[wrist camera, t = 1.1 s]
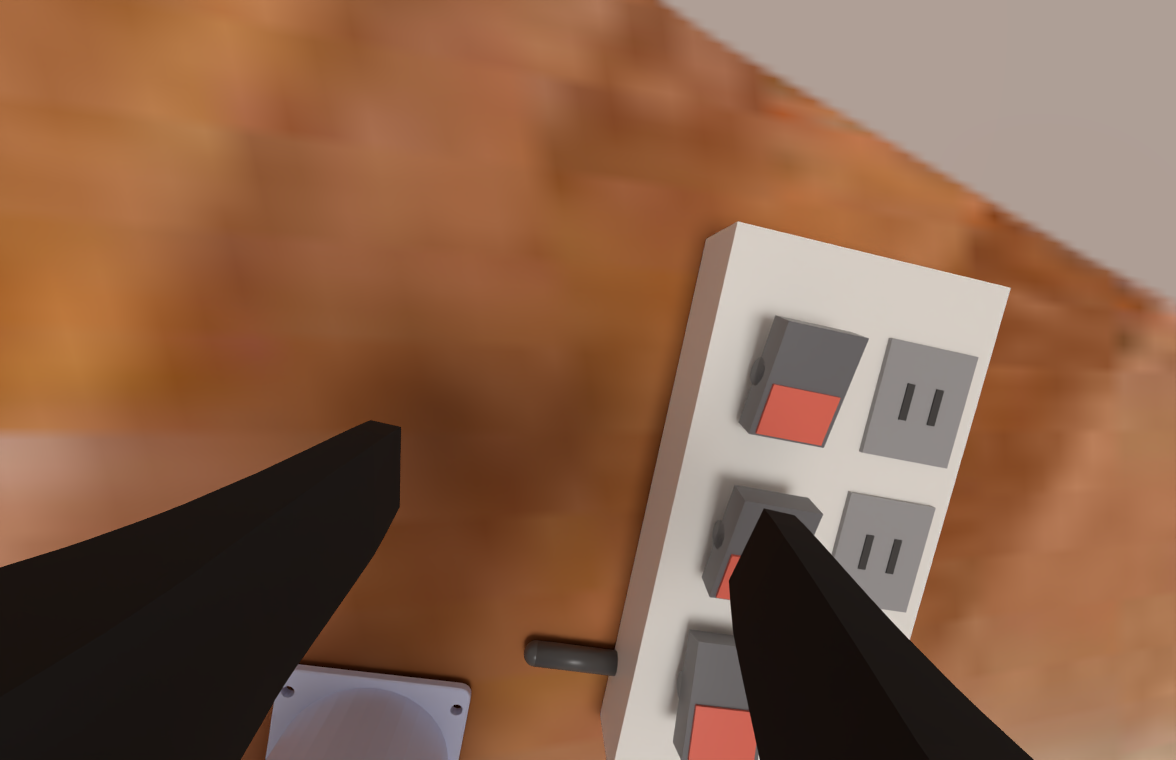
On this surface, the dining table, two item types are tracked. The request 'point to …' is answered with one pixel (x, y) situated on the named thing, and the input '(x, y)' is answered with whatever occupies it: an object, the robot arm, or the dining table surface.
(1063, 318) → the dining table surface
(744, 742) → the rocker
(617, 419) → the dining table surface
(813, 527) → the rocker middle
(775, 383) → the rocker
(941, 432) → the power strip
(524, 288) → the dining table surface
